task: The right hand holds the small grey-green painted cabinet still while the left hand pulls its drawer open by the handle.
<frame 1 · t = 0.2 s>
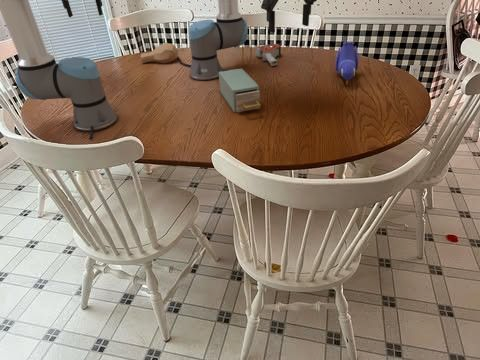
left hand: (86, 15, 157), 28 cm above the table, tool pointing down, fingers open, 13 cm apart
right hand: (288, 28, 121), 28 cm above the table, tool pointing down, fingers open, 13 cm apart
toy: (345, 79, 155), on the table
drawer: (242, 94, 137), point 4 cm above the table, slide at 1.4 cm
squash: (160, 62, 189), on the table
cabinet: (238, 99, 144), on the table
tape dispenser: (268, 59, 182), on the table
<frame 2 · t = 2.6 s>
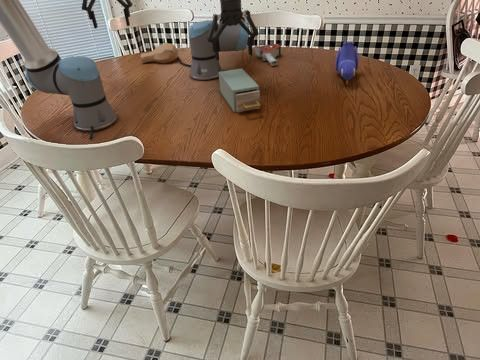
left hand: (112, 26, 150), 25 cm above the table, tool pointing down, fingers open, 13 cm apart
right hand: (234, 57, 140), 15 cm above the table, tool pointing down, fingers open, 13 cm apart
nothing on the table moved.
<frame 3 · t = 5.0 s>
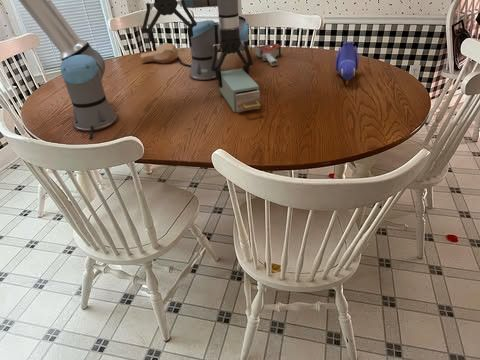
left hand: (173, 48, 137), 20 cm above the table, tool pointing down, fingers open, 13 cm apart
right hand: (233, 84, 148), 4 cm above the table, tool pointing down, fingers closed on cabinet, 10 cm apart
cabinet: (238, 99, 144), on the table, touching right hand
everything else where it was.
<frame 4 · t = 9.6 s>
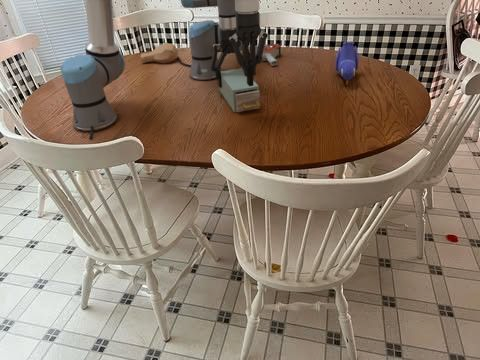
left hand: (250, 84, 124), 12 cm above the table, tool pointing down, fingers closed
right hand: (232, 84, 148), 4 cm above the table, tool pointing down, fingers closed on cabinet, 10 cm apart
cabinet: (238, 99, 144), on the table, touching right hand
everything else where it was.
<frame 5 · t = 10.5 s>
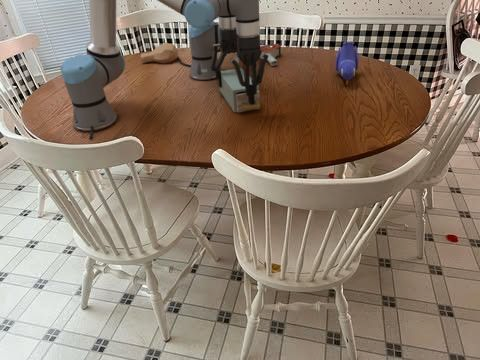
left hand: (251, 103, 128), 5 cm above the table, tool pointing down, fingers closed
right hand: (232, 84, 148), 4 cm above the table, tool pointing down, fingers closed on cabinet, 10 cm apart
drawer: (242, 94, 137), point 4 cm above the table, slide at 1.5 cm, touching left hand
cabinet: (238, 99, 144), on the table, touching right hand
everything else where it was.
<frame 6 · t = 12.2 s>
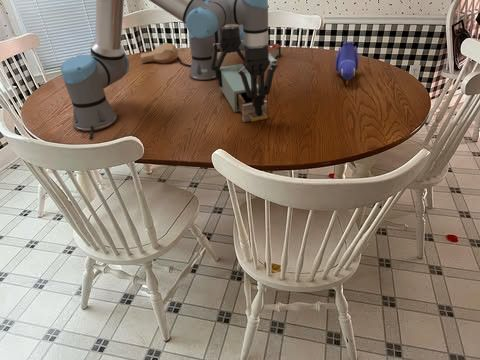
left hand: (258, 114, 124), 4 cm above the table, tool pointing down, fingers closed
right hand: (233, 84, 147), 4 cm above the table, tool pointing down, fingers closed on cabinet, 10 cm apart
drawer: (248, 101, 131), point 4 cm above the table, slide at 7.8 cm, touching left hand
cabinet: (238, 96, 143), point 1 cm above the table, tilted 6°, touching right hand
everything else where it was.
when the right hand's fingers open (4 cm above the table, at t = 14.2 s): cabinet stays where it is, on the table.
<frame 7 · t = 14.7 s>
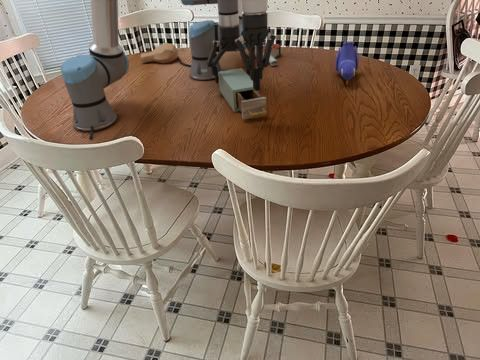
left hand: (256, 89, 118), 13 cm above the table, tool pointing down, fingers closed
right hand: (232, 79, 147), 5 cm above the table, tool pointing down, fingers open, 13 cm apart
drawer: (247, 100, 132), point 4 cm above the table, slide at 8.0 cm
cabinet: (238, 99, 144), on the table
everything else where it was.
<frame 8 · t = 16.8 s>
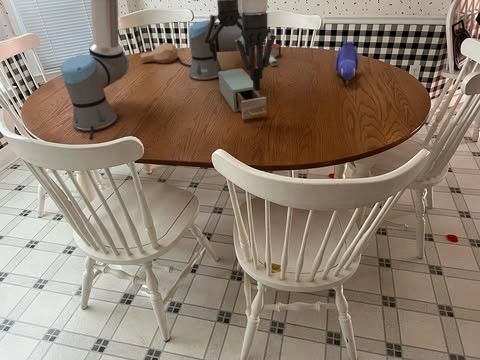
left hand: (256, 89, 118), 13 cm above the table, tool pointing down, fingers closed
right hand: (231, 57, 141), 14 cm above the table, tool pointing down, fingers open, 13 cm apart
nothing on the table moved.
at the end: drawer slide at 8.0 cm; cabinet tilted 0°; cabinet never tilted more than 7° during the clip; cabinet moved 0.2 cm from its start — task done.
